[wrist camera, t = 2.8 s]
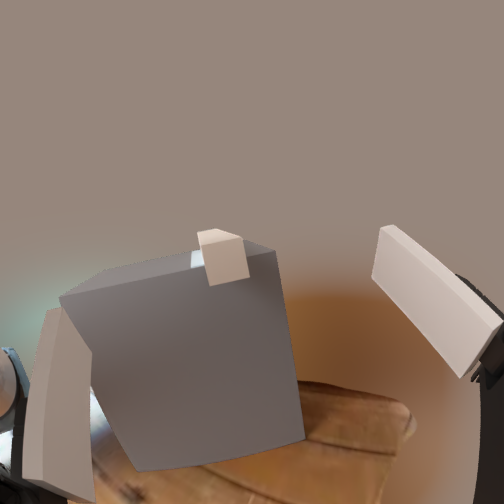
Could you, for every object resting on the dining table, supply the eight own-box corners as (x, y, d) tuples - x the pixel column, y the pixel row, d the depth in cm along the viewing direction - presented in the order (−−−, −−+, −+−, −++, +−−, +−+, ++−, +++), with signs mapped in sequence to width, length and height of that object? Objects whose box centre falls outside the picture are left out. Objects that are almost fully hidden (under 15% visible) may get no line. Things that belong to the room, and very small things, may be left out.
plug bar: (249, 277, 22) (242, 237, 22) (209, 286, 22) (200, 245, 21) (218, 246, 49) (214, 228, 49) (200, 249, 49) (196, 231, 49)
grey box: (305, 439, 38) (275, 249, 34) (137, 471, 33) (58, 295, 29) (272, 378, 57) (244, 238, 53) (148, 404, 53) (103, 269, 49)
